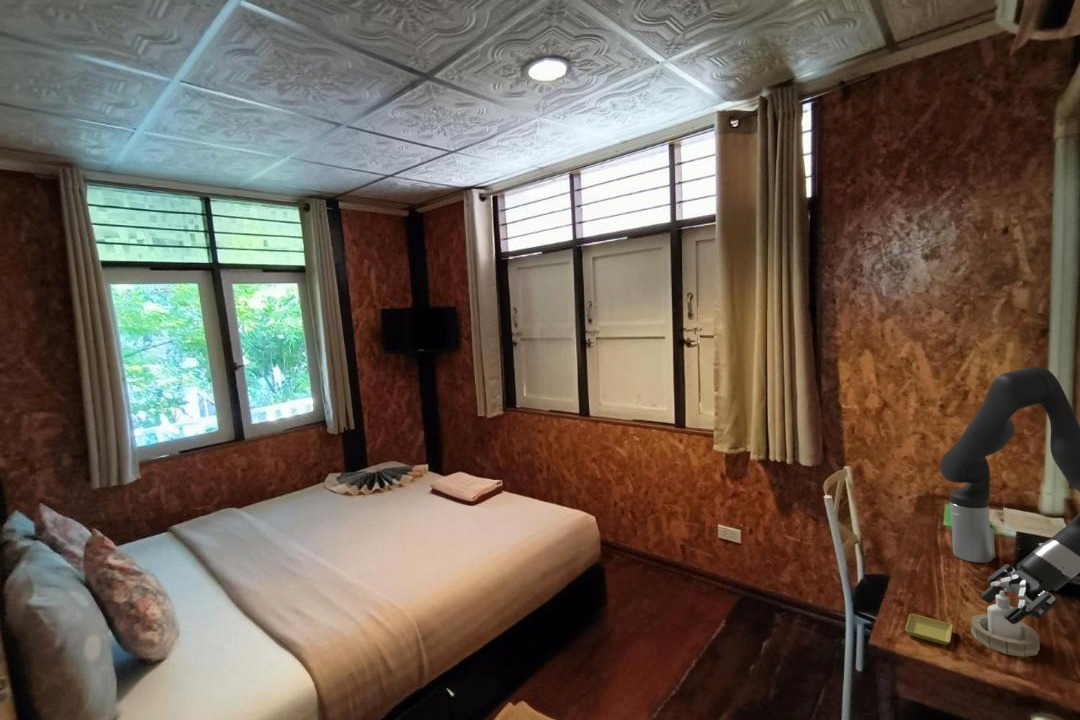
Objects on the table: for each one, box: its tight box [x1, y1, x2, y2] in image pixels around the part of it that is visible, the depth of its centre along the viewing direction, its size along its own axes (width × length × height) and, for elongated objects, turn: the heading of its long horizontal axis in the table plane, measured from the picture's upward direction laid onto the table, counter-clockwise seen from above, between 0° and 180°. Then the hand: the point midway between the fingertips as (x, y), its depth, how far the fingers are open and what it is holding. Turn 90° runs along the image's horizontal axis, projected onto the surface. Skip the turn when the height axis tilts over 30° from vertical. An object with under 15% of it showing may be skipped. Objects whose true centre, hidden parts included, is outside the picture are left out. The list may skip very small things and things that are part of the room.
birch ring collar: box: [970, 613, 1041, 658], centre depth 115 cm, size 11×11×3 cm
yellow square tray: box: [904, 613, 954, 646], centre depth 120 cm, size 9×9×2 cm
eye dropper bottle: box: [986, 591, 1023, 640], centre depth 114 cm, size 4×6×12 cm
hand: (995, 610), depth 115 cm, fingers open, 8 cm apart
